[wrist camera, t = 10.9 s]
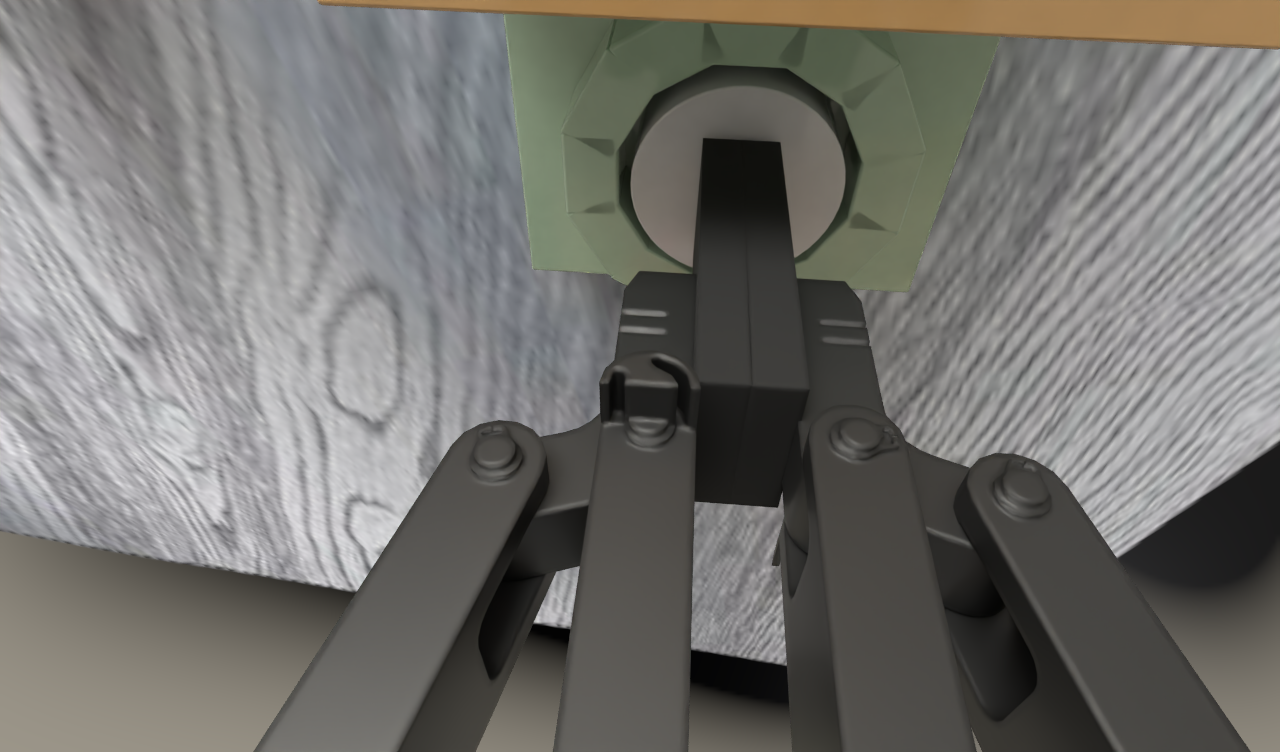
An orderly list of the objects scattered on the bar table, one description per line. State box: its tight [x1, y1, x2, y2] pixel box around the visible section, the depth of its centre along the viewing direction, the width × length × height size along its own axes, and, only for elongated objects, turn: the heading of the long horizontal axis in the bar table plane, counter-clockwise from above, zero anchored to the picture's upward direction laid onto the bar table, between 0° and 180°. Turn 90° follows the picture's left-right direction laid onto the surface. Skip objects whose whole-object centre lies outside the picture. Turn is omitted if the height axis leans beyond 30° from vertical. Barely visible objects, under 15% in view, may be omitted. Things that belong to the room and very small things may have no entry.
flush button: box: [630, 65, 846, 267], centre depth 16 cm, size 4×4×2 cm
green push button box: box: [503, 14, 1001, 292], centre depth 17 cm, size 10×8×5 cm
